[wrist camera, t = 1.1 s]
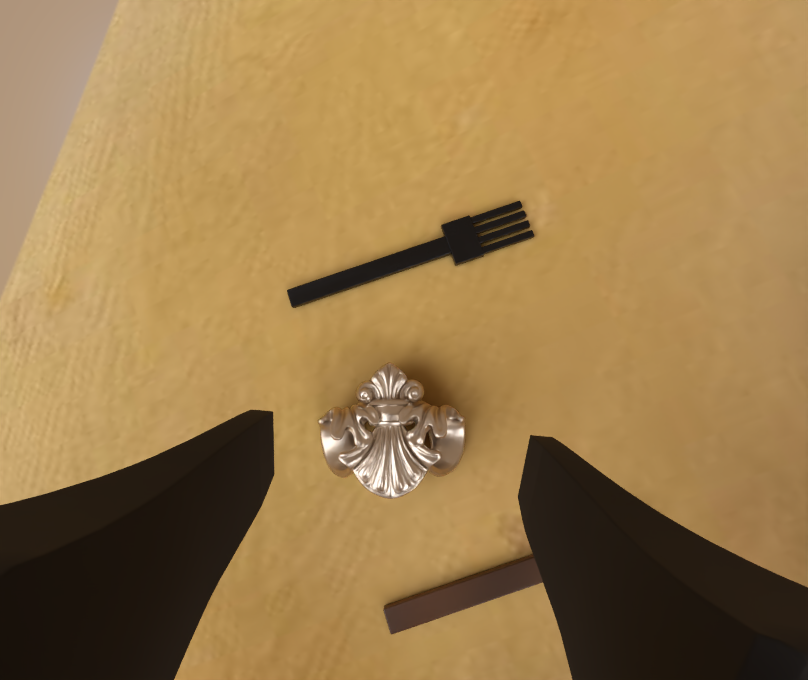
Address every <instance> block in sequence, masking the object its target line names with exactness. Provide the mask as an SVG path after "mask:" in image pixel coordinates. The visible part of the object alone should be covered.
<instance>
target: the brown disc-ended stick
mask: <svg viewBox="0 0 808 680" xmlns="http://www.w3.org/2000/svg"><path fill="white" fill-rule="evenodd" d="M542 582H543V580H542V578H541V575H540V572H539V569H538V567H537V564H536V561H535V558H534V555H530V556H527V557H524V558H521V559H519V560H516V561H513V562H510V563H507V564H504V565H501V566H498V567H495V568H492V569H490V570H487V571H484V572H481V573H478V574H475V575H472V576H469V577H466V578H464V579H461V580H458V581H455V582H452V583H449V584H446V585H443V586H440V587H437V588H435V589H432V590H429V591H426V592H423V593H420V594H417V595H414V596H411V597H408V598H406V599H403V600H400V601H397V602H394V603H391V604H388V605H385V606H384V613H385V617H386V620H387V623H388V626H389V630H390V633H391V634H394V633H397V632H400V631H403V630H406V629H409V628H412V627H415V626H417V625H420V624H423V623H426V622H429V621H432V620H435V619H438V618H441V617H444V616H446V615H449V614H452V613H455V612H458V611H461V610H464V609H467V608H470V607H472V606H475V605H478V604H481V603H484V602H487V601H490V600H493V599H496V598H499V597H501V596H504V595H507V594H510V593H513V592H516V591H519V590H522V589H525V588H527V587H530V586H533V585H536V584H539V583H542Z"/></svg>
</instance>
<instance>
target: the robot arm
mask: <svg viewBox="0 0 808 680" xmlns="http://www.w3.org/2000/svg"><path fill="white" fill-rule="evenodd" d="M273 476H274V432H273V412H272V411H261V410H249V411H247V412H244V413H242V414H240V415H238V416H236V417H234V418H232V419H230V420H228V421H226V422H224V423H222V424H220V425H218V426H216V427H214V428H212V429H210V430H208V431H206V432H204V433H202V434H200V435H198V436H196V437H194V438H192V439H190V440H188V441H186V442H184V443H182V444H180V445H177V446H175V447H173V448H171V449H169V450H167V451H164V452H162V453H160V454H158V455H156V456H153V457H151V458H149V459H146V460H144V461H142V462H139V463H137V464H134V465H132V466H129V467H126V468H124V469H121V470H118V471H115V472H113V473H110V474H107V475H104V476H102V477H99V478H96V479H92V480H89V481H86V482H83V483H79V484H76V485H73V486H70V487H67V488H63V489H60V490H57V491H54V492H50V493H47V494H43V495H40V496H36V497H32V498H28V499H24V500H21V501H17V502H13V503H9V504H4V505H0V680H174V678H175V676H176V674H177V671H178V669H179V667H180V664H181V662H182V660H183V657H184V655H185V653H186V650H187V648H188V646H189V643H190V641H191V639H192V637H193V634H194V632H195V630H196V628H197V626H198V623H199V621H200V619H201V617H202V614H203V612H204V610H205V608H206V606H207V603H208V601H209V599H210V597H211V595H212V593H213V592H214V590H215V588H216V586H217V584H218V582H219V580H220V578H221V577H222V575H223V573H224V571H225V570H226V568H227V566H228V564H229V563H230V561H231V559H232V557H233V556H234V554H235V552H236V550H237V549H238V547H239V545H240V543H241V542H242V540H243V538H244V536H245V535H246V533H247V531H248V529H249V528H250V526H251V524H252V522H253V520H254V519H255V517H256V515H257V513H258V511H259V510H260V508H261V506H262V503H263V501H264V499H265V496H266V494H267V491H268V489H269V486H270V484H271V481H272V479H273ZM518 500H519V505H520V510H521V515H522V520H523V524H524V528H525V532H526V535H527V538H528V541H529V544H530V547H531V550H532V552H533V555H534V558H535V561H536V564H537V567H538V569H539V572H540V575H541V578H542V580H543V583H544V586H545V589H546V592H547V594H548V597H549V600H550V603H551V605H552V608H553V611H554V614H555V617H556V620H557V623H558V626H559V630H560V633H561V636H562V640H563V644H564V648H565V652H566V656H567V660H568V664H569V667H570V671H571V675H572V679H573V680H808V588H807V587H805V586H803V585H801V584H798V583H796V582H794V581H791V580H789V579H787V578H784V577H782V576H780V575H777V574H775V573H773V572H771V571H769V570H767V569H765V568H762V567H760V566H758V565H756V564H754V563H752V562H750V561H747V560H745V559H744V558H742V557H740V556H738V555H736V554H734V553H732V552H730V551H728V550H726V549H724V548H722V547H720V546H718V545H716V544H714V543H712V542H710V541H708V540H706V539H704V538H703V537H701V536H699V535H697V534H695V533H693V532H692V531H690V530H688V529H687V528H685V527H683V526H681V525H680V524H678V523H676V522H675V521H673V520H671V519H669V518H668V517H666V516H664V515H663V514H661V513H659V512H658V511H656V510H655V509H653V508H651V507H650V506H648V505H647V504H645V503H644V502H642V501H641V500H639V499H638V498H636V497H635V496H633V495H632V494H630V493H629V492H627V491H626V490H625V489H623V488H622V487H620V486H619V485H618V484H616V483H615V482H613V481H612V480H611V479H609V478H608V477H606V476H605V475H604V474H602V473H601V472H600V471H598V470H597V469H596V468H594V467H593V466H592V465H590V464H589V463H588V462H586V461H585V460H584V459H582V458H581V457H580V456H578V455H577V454H576V453H574V452H573V451H572V450H570V449H569V448H568V447H566V446H565V445H564V444H562V443H561V442H559V441H558V440H556V439H554V438H553V437H544V436H533V435H530V439H529V444H528V449H527V454H526V459H525V464H524V469H523V474H522V479H521V484H520V489H519V494H518Z"/></svg>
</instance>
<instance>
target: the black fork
mask: <svg viewBox="0 0 808 680" xmlns="http://www.w3.org/2000/svg"><path fill="white" fill-rule="evenodd" d="M521 208H522V204H521V202H520V201H517V202H514V203H512V204H509V205H506V206H503V207H500V208H497V209H494V210H491V211H488V212H485V213H482V214H479V215H476V216H473V217H470V216H466V217H463V218H460V219H457V220H454V221H451V222H449V223H446V224H443V225H441V229H442V232H443V234H444V237H442V238H439V239H436V240H433V241H430V242H427V243H424V244H421V245H418V246H415V247H412V248H409V249H406V250H403V251H400V252H397V253H395V254H392V255H389V256H386V257H383V258H380V259H377V260H374V261H371V262H368V263H365V264H362V265H359V266H356V267H353V268H350V269H347V270H345V271H342V272H339V273H336V274H333V275H330V276H327V277H324V278H321V279H318V280H315V281H312V282H309V283H306V284H303V285H300V286H297V287H295V288H292V289H289V290H287V292H288V296H289V299H290V302H291V306H292V307H293V308H296V307H299V306H302V305H305V304H308V303H310V302H313V301H316V300H319V299H322V298H325V297H328V296H331V295H334V294H337V293H340V292H343V291H346V290H349V289H352V288H355V287H357V286H360V285H363V284H366V283H369V282H372V281H375V280H378V279H381V278H384V277H387V276H390V275H393V274H396V273H399V272H402V271H404V270H407V269H410V268H413V267H416V266H419V265H422V264H425V263H428V262H431V261H434V260H437V259H440V258H443V257H446V256H449V255H451V256H452V258H453V261H454V264H455V266H457V265H460V264H463V263H466V262H468V261H471V260H474V259H477V258H480V257H483V256H484V254H487V253H490V252H492V251H495V250H498V249H501V248H504V247H507V246H510V245H513V244H516V243H519V242H522V241H525V240H528V239H531V238H533V237H534V234H533V231H532V230H531V231H528V232H525V233H522V234H519V235H516V236H513V237H510V238H507V239H504V240H501V241H498V242H495V243H492V244H490V245H487V246H484V247H481V244H483V243H486V242H489V241H492V240H495V239H498V238H501V237H504V236H507V235H509V234H512V233H515V232H518V231H521V230H524V229H527V228H529V227H530V224H529V221H528V220H527V221H524V222H521V223H518V224H515V225H512V226H509V227H506V228H503V229H501V230H498V231H495V232H492V233H489V234H486V235H483V236H480V237H478V236H477V234H480V233H483V232H486V231H489V230H491V229H494V228H497V227H500V226H503V225H506V224H509V223H512V222H515V221H518V220H521V219H524V218H525V217H526V214H525V212H524V211H521V212H518V213H515V214H512V215H509V216H506V217H503V218H500V219H497V220H494V221H491V222H488V223H485V224H482V225H479V226H476V227H474V226H473V225H474V224H477V223H480V222H483V221H485V220H488V219H491V218H494V217H497V216H500V215H503V214H506V213H509V212H512V211H515V210H518V209H521Z"/></svg>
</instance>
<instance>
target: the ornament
mask: <svg viewBox="0 0 808 680" xmlns="http://www.w3.org/2000/svg"><path fill="white" fill-rule="evenodd" d="M371 380H372V381H370V380H368V381H364V382H362V383H361V384H360V385H359V386H358V388H357V390H356V397H357V399H358V400H359V401H360V402H359V403H358V404H356V405H352V407H351V408H348V407H346V408H344V409H343V410H341V409H340V408H339V407H334V408H332V409H331V410H330V411H328V412H327V413H325V415H324V416H323V417H322V418H321V419H319V420H318V423H319V424H320V430H321V444H322V449H323V454H324V457H325V459H326V462H327V464H328V466H329V468H330V470H331V471H332V472H333V473H334V474H336V475H337V476H339V477H342V478H347V477H348V476H350V475H351V474H352V473H354V474H355V475H356V477H357V478H358V480H359V481H360V483H361V484H362V485H363V486H364V487H365V488H366V489H368V490H369V491H370V492H372V493H374V494H376V495H378V496H381V497H384V498H389V499H392V498H398V497H401V496H403V495H405V494H407V493H409V492H410V491H412V490H413V489H414V488H416V487H417V486H418V485H419V483H420V482H421V481H422V479H423V478H424V476H425V474H426V473H427V471H428V470H429V471H430V473H431V474H433V475H435V476H444V475H447V474H449V473H450V472H452V471H453V470H454V469H455V468H456V467H457V465H458V464H459V462H460V459H461V457H462V455H463V452H464V447H465V417H464V416H461V415H460V414H459V412H458V411H457V410H456V409H454V408H453V407H451V406H449V405H442V406H441V407H440V408H439V407H437V406H434V405H433V406H431V405H429V404H428V403H426V402H424V401H422V400H421V399H422V398H423V395H424V388H423V386H422V384H421V383H420V382H419V381H417V380H413V379H411V380H407V376H406V375H405V374H404V372H403V371H401V370H400V369H399V368H398V367H397V366H395V365H394V364H392V363H390V362H389V363H387V364H385V365H384V366H382V367H381V368H380V369H379V370H377V371H376V372H375V373H374V375H373V376H372V379H371ZM367 421H368V423H369V425H371V426H375V428H374V430H373V431H372V432H370V431H368V430H366V429H365V427H364V424H365V423H366V422H367ZM413 422H415V426H414V428H413V429H411V430H409V431H407V429H406V427H405V426H408V425H411V424H413ZM427 432H428V435H429V439H430V449H429V448H427V447H426V446H425V445H424V442H425V437H426V433H427Z"/></svg>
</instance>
